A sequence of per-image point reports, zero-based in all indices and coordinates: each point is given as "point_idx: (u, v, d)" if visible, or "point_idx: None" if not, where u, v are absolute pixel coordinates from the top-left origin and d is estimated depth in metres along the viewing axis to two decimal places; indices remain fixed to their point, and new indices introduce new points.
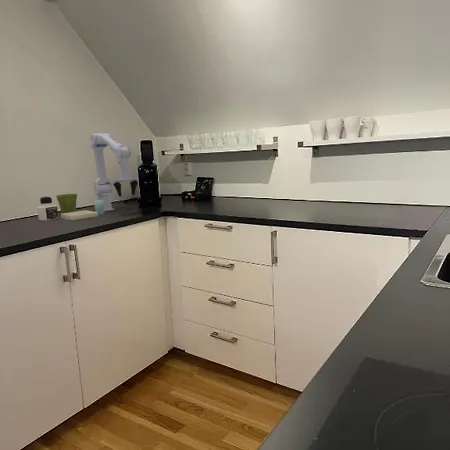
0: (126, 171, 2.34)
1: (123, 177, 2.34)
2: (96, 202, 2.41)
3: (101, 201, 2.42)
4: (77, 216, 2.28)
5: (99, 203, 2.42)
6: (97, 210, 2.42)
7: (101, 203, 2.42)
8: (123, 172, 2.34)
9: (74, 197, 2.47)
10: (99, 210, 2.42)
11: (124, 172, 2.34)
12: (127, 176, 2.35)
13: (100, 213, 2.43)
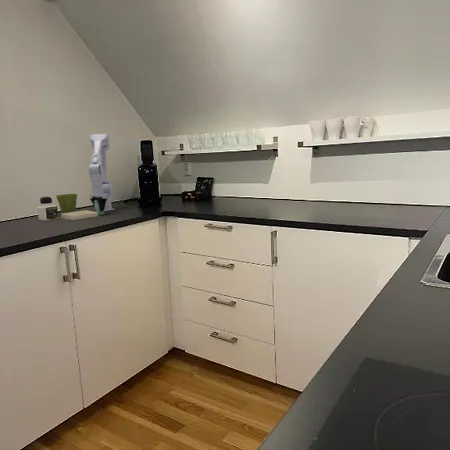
0: (92, 187, 2.40)
1: None
2: (96, 202, 2.41)
3: None
4: (77, 216, 2.28)
5: None
6: (97, 210, 2.42)
7: None
8: None
9: (74, 197, 2.47)
10: (99, 210, 2.42)
11: None
12: (93, 192, 2.41)
13: (100, 213, 2.43)
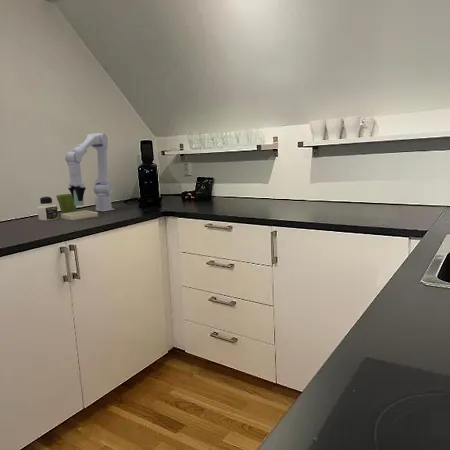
0: (70, 176, 2.31)
1: None
2: (75, 192, 2.33)
3: None
4: (77, 216, 2.28)
5: None
6: (76, 200, 2.33)
7: None
8: None
9: None
10: None
11: None
12: (71, 181, 2.31)
13: (79, 203, 2.33)
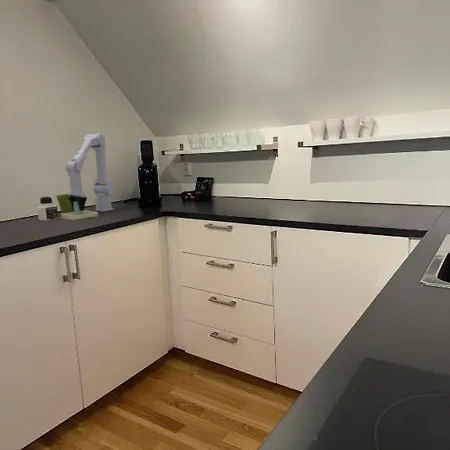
0: (70, 186, 2.32)
1: None
2: (75, 203, 2.33)
3: None
4: (77, 216, 2.28)
5: (78, 205, 2.33)
6: (76, 212, 2.34)
7: None
8: None
9: None
10: (78, 212, 2.34)
11: (70, 186, 2.33)
12: (71, 191, 2.32)
13: None
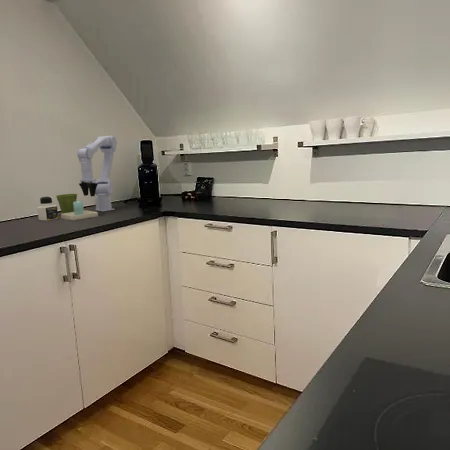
0: None
1: None
2: (75, 204, 2.33)
3: (80, 203, 2.34)
4: (77, 216, 2.28)
5: (78, 205, 2.33)
6: (76, 212, 2.34)
7: (80, 205, 2.34)
8: None
9: (74, 197, 2.47)
10: (78, 212, 2.34)
11: None
12: (82, 177, 2.40)
13: None
